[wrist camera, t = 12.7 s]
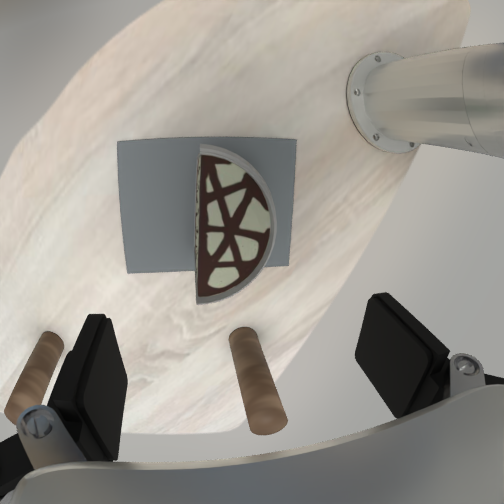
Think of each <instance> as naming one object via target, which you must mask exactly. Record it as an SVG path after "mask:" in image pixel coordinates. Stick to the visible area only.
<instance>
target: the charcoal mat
mask: <svg viewBox="0 0 504 504" xmlns="http://www.w3.org/2000/svg"><path fill="white" fill-rule="evenodd" d="M296 141H297V140H295V139H278V138H254V137H185V138H161V139H145V140H131V141H120V142H117V159H118V183H119V199H120V212H121V223H122V233H123V243H124V251H125V259H126V266H127V273H153V272H177V271H195V262H194V218H195V187H196V164H197V156H198V154H199V153H200V144H207V145H214V146H217V147H221V148H224V149H227V150H229V151H231V152H233V153H236V154H237V155H239V156H240V157H242V158H243V159H245V160H246V161H248V162H249V163H250V164H251V165H252V166H253V167H254V168H255V169H256V170H257V171H258V172H259V174H260V175H261V176H262V178H263V179H264V180H265V182H266V184H267V186H268V188H269V190H270V192H271V195H272V199H273V202H274V206H275V211H276V218H277V233H276V238H275V244H274V247H273V250H272V252H271V255H270V257H269V259H268V261H267V263H266V265H265V266H264V267H276V266H289V254H290V241H291V227H292V213H293V197H294V180H295V162H296Z"/></svg>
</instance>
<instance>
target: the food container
mask: <svg viewBox="0 0 504 504" xmlns="http://www.w3.org/2000/svg"><path fill="white" fill-rule="evenodd" d="M276 233H277V218H276V211H275V206H274V202H273V199H272V195H271V192H270V190H269V188H268V186H267V184H266V182H265V180H264V179H263V178H262V176H261V175H260V174H259V172H258V171H257V170H256V169H255V168H254V167H253V166H252V165H251V164H250V163H249V162H248V161H246V160H245V159H243V158H242V157H240V156H239V155H237V154H236V153H233V152H231V151H229V150H227V149H224V148H221V147H217V146H214V145H207V144H200V153H199V154H198V156H197V164H196V187H195V218H194V262H195V283H196V304H197V305H202V304H210V303H214V302H219V301H221V300H224V299H227V298H229V297H231V296H233V295H235V294H237V293H239V292H240V291H241V290H243V289H244V288H245V287H247V286H248V285H249V284H250V283H251V282H252V281H253V280H254V279H255V278H256V277H257V276H258V275H259V273H260V272H261V271H262V269H263V268H264V266H265V265H266V263H267V261H268V259H269V257H270V255H271V252H272V250H273V247H274V244H275V238H276Z"/></svg>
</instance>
